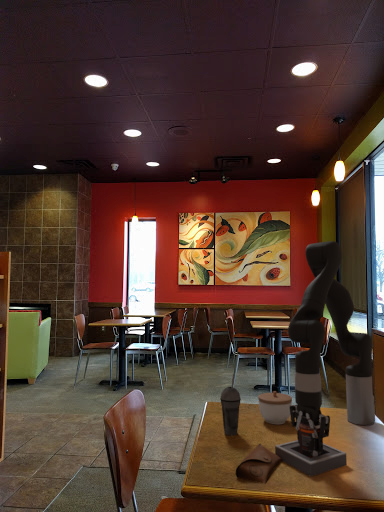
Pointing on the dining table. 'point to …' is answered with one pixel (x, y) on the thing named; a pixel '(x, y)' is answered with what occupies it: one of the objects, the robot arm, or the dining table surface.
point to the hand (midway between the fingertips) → (309, 446)
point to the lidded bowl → (275, 407)
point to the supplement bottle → (307, 439)
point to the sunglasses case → (258, 465)
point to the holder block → (311, 466)
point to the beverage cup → (230, 409)
